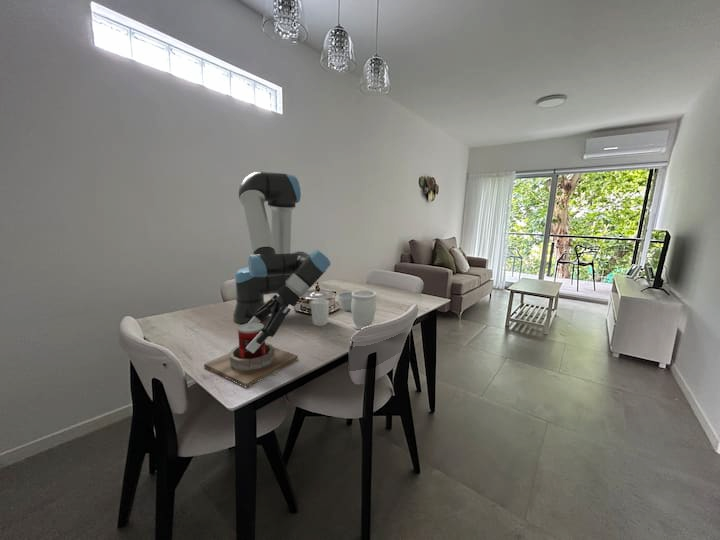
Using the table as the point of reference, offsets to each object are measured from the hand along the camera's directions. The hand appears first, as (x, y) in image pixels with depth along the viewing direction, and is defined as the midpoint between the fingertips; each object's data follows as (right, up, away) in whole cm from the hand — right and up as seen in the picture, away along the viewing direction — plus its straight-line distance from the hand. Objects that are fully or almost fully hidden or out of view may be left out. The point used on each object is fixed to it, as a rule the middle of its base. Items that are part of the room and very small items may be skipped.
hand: (246, 341), depth 91 cm
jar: (+37, -2, +35) cm, 51 cm away
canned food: (+1, -6, +2) cm, 7 cm away
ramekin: (+31, +2, +61) cm, 68 cm away
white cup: (+18, -1, +38) cm, 42 cm away
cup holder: (+1, -7, +2) cm, 8 cm away
